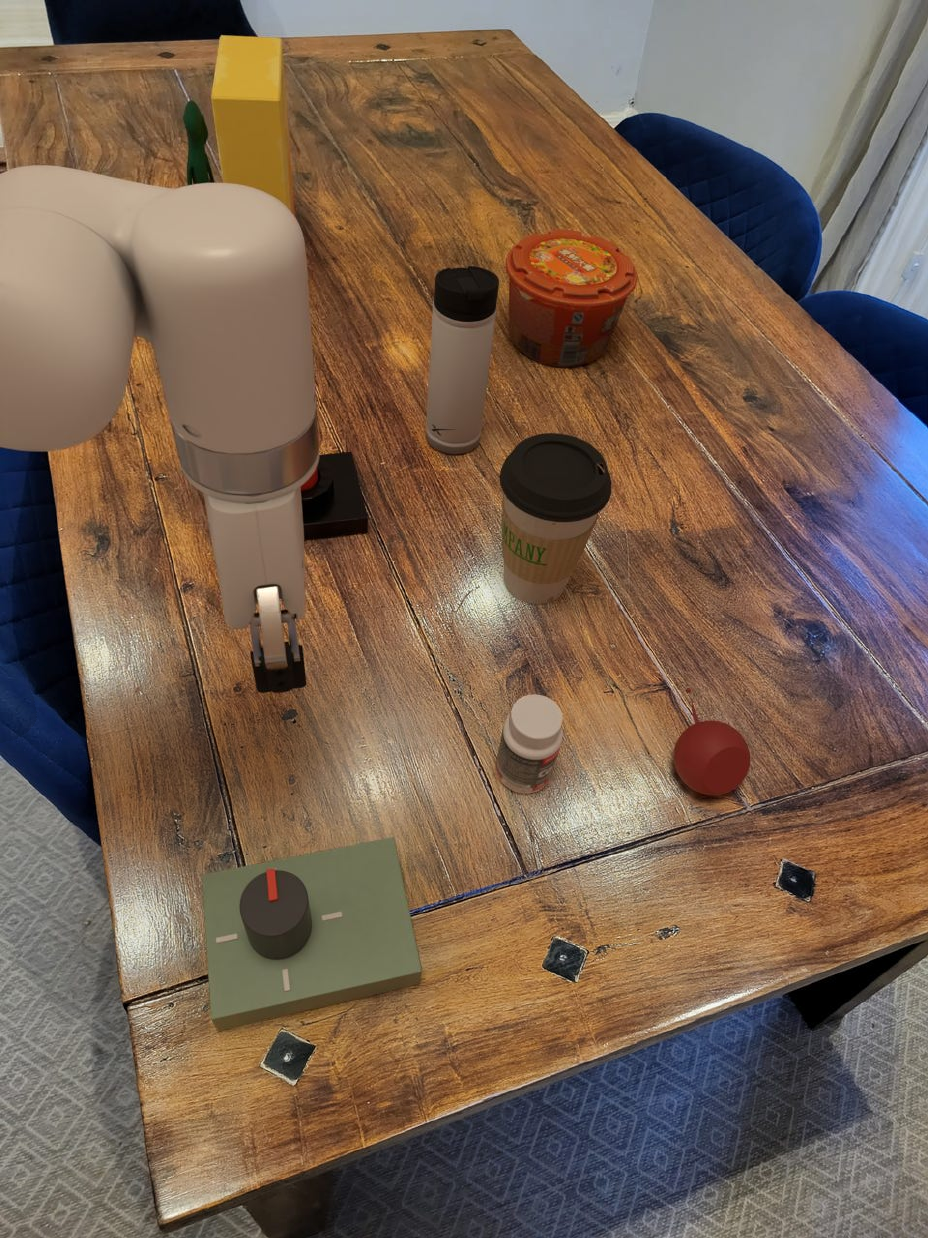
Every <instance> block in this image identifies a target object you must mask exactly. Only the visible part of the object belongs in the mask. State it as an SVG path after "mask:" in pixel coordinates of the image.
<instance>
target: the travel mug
mask: <svg viewBox="0 0 928 1238" xmlns="http://www.w3.org/2000/svg"><path fill="white" fill-rule="evenodd" d="M499 287H500V278H499V277H498V275H496V273H494V272H492V271H491V270H489V269H487V268H484V267H481V266H476V265H474V266H473V265H467V267H452V268H451V267H446V268H442V269H441V270H439V271H438V272H437V273H436V274H435V277H434V289H433V290H434V293H433V301H432V316H431V317H432V318H431V332H430V333H431V334H430V352H429V365H428V366H429V368H428V385H427V402H426V418H425V435H424V436H425V439H426V441H427V443H428V444H429V445H430V446H431V447H432V449H433V448H434V449H435V450H436V451H438V452H441V453H443V454H447V455H463V454H467V453H469V452H472V451H473V450H475V449H476V448H477V447H478V446H479V444H480V442H481V438H482V430H483V423H484V414H485V406H486V397H487V391H488V380H489V372H490V365H491V357H492V349H493V340H494V334H495V333H494V331H495V326H496V325H495V324H496V317H497V315H496V314H497V302H498V301H497V300H498V297H499V296H498V295H499Z"/></svg>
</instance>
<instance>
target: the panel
mask: <svg viewBox="0 0 928 1238" xmlns="http://www.w3.org/2000/svg"><path fill="white" fill-rule="evenodd" d="M269 869H275V870H282V871H287V872H290V873H292V874H294V875H295V876H297V877H298V878H299V879H300V880H301V881H302V882H303V884H304V885H305V887H306V890H307V893H308V899H309V905H310V911H311V918H312V931H311V935H310V937H309V939H308V941H307V943H306V944H305V946H304V947H303V948H302V949H301V950H300V951H299V952H297V953H296V954H295V955H293V956H291V957H288V958H285V959H279V960H274V959H268V958H265V957H263V956H261V955H260V954H258V953H257V952H256V951H255V950H254V949H253V947H252V946H251V944H250V942H249V939H248V936H247V933H246V930H245V927H244V924H243V921H242V918H241V915H240V910H239V904H240V899H241V895H242V893H243V891H244V889H245V887H246V886H247V885H248V884H249V883H250V881H252V880H253V879H254V878H255V877H257V876H258V875H260V874H262V873H265V872H266V870H269ZM201 887H202V888H201V889H202V903H203V918H204V932H205V933H204V934H205V935H204V936H205V949H206V963H207V964H206V965H207V976H208V979H207V981H208V991H209V993H208V996H209V1009H210V1020H211V1022H212V1023H213V1025H214V1027H215V1029H216V1031H218V1032H221V1031H225V1030H229V1029H233V1028H237V1027H242V1026H246V1025H250V1024H255V1023H259V1022H263V1021H267V1020H272V1019H276V1018H280V1017H284V1016H289V1015H294V1014H297V1013H301V1012H306V1011H310V1010H314V1009H319V1008H323V1007H328V1006H331V1005H336V1004H341V1003H346V1002H349V1001H354V1000H358V999H362V998H366V997H370V996H375V995H379V994H384V993H388V992H392V991H396V990H397V991H398V990H401V989H405V988H409V987H414V986H418V985H421V980H422V973H423V970H422V969H423V968H422V964H421V963H422V962H421V958H420V955H419V949H418V944H417V941H416V936H415V930H414V926H413V921H412V917H411V916H412V915H411V911H410V907H409V902H408V897H407V893H406V887H405V882H404V877H403V873H402V868H401V864H400V858H399V854H398V848H397V844H396V840H395V837H394V836H392V837H388V838H382V839H376V840H371V841H366V842H362V843H357V844H352V845H351V844H350V845H345V846H341V847H335V848H330V849H326V850H321V851H315V852H310V853H304V854H300V855H294V856H290V857H285V858H280V859H275V860H269V861H264V862H259V863H254V864H249V865H244V866H238V867H233V868H228V869H227V868H226V869H223V870H217V871H212V872H208V873H202V874H201Z"/></svg>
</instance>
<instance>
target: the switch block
mask: <svg viewBox="0 0 928 1238" xmlns="http://www.w3.org/2000/svg"><path fill="white" fill-rule="evenodd" d="M317 471H318V481H317V483H316V485H315V486H314V487H312V488H311V489H309V490H306V491H301V500H302V514H303V528H304V541H312V540H319V539H320V540H321V539H330V538H337V537H346V536H353V535H362V534H368V533H369V516H368V512H367V507H366V505H365V500H364V497H363V492H362V487H361V485H360V480H359V476H358V471H357V468H356V464H355V458H354V456H353V453H352V451H343V452H333V453H332V452H331V453H322V454H319V462H318V465H317Z"/></svg>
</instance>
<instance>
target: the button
mask: <svg viewBox="0 0 928 1238" xmlns="http://www.w3.org/2000/svg"><path fill="white" fill-rule="evenodd" d="M317 481H318V471H317V467H316V470H315V472H314V473H313V474H312V476H311V477H310V478H309V479H308V480H307V481H306V482H305V483H304V484H303V485H302V486H300V487H301V491H306V490H309V489H311V488H312V487H314V486H315V485H316V483H317Z"/></svg>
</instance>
